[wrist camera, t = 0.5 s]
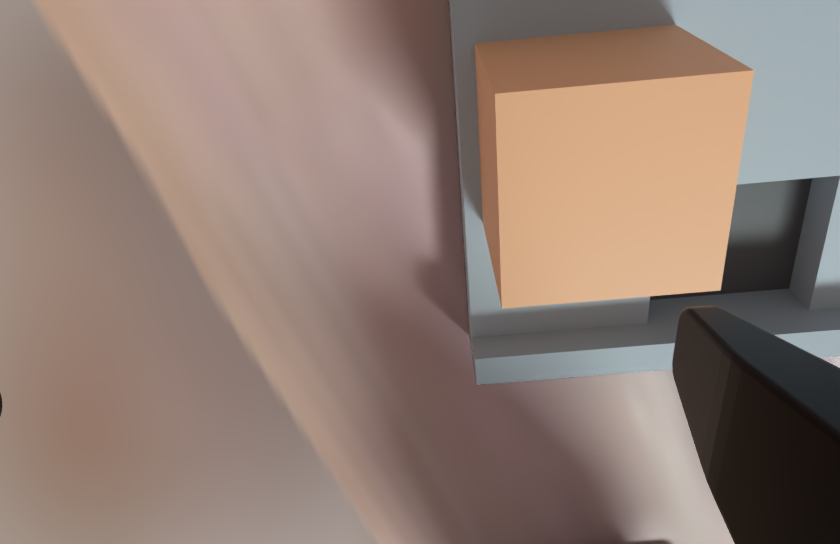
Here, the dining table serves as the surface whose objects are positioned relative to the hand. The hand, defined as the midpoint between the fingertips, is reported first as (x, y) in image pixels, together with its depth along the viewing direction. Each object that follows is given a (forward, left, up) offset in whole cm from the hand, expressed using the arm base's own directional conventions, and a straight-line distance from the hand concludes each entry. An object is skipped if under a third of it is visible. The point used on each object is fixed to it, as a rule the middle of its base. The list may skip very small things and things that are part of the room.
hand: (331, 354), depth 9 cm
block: (-1, -5, -11) cm, 12 cm away
